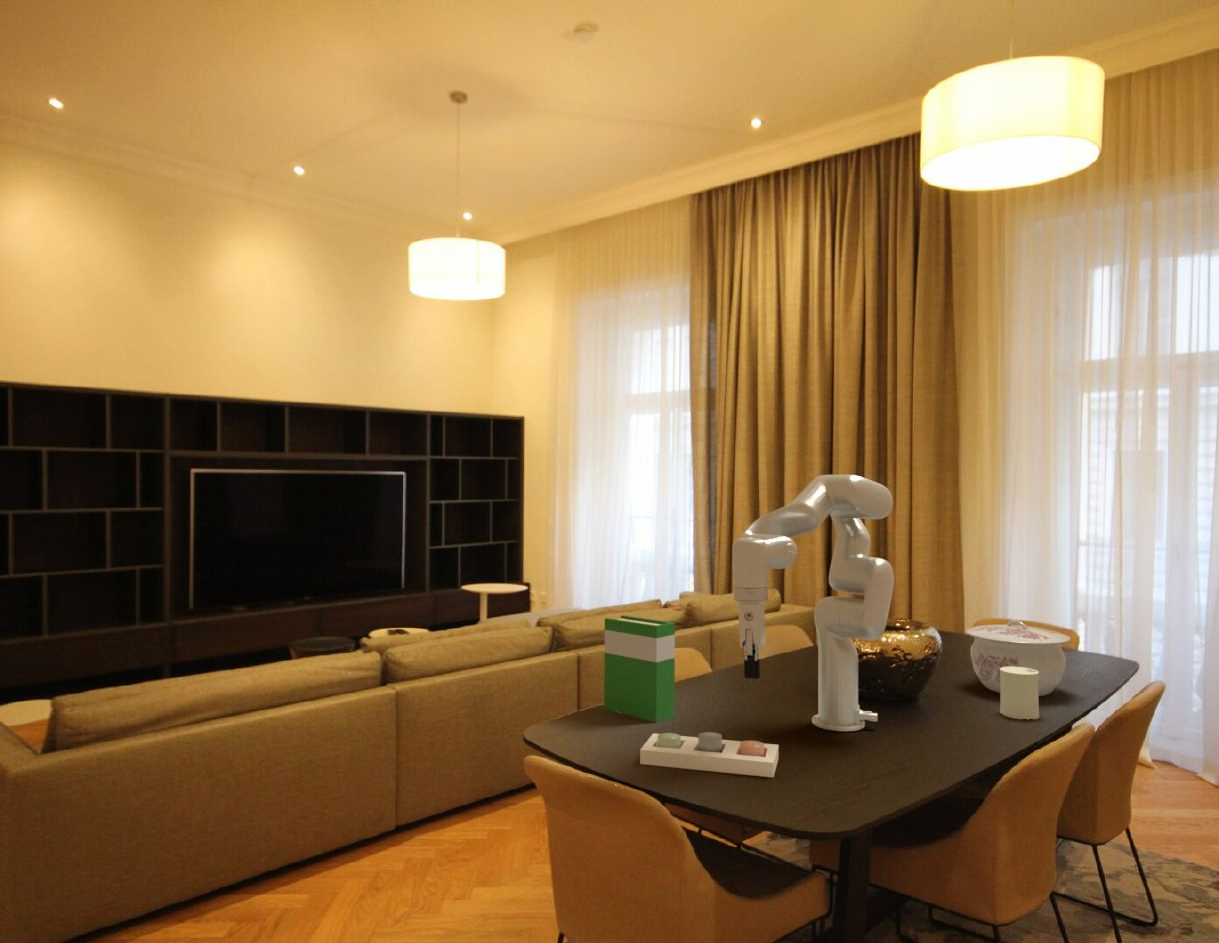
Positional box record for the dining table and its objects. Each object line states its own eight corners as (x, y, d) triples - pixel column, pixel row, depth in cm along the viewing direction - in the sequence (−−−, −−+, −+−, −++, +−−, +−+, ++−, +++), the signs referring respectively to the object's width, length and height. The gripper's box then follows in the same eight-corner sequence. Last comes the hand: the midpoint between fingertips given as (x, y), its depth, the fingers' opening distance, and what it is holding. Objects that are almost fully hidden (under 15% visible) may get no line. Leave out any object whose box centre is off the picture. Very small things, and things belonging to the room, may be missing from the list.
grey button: (723, 751, 179) (723, 733, 180) (719, 759, 175) (719, 740, 175) (700, 749, 181) (700, 731, 181) (696, 756, 176) (696, 737, 176)
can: (1044, 720, 209) (1044, 673, 209) (1005, 718, 211) (1004, 671, 211) (1033, 711, 218) (1033, 665, 218) (995, 709, 220) (995, 663, 220)
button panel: (778, 758, 180) (778, 744, 180) (773, 777, 168) (773, 762, 168) (653, 746, 187) (653, 733, 188) (640, 763, 176) (640, 749, 176)
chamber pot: (1071, 709, 219) (1070, 631, 219) (959, 696, 233) (959, 622, 233) (1072, 687, 243) (1071, 616, 244) (971, 676, 257) (970, 609, 257)
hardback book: (604, 709, 218) (604, 618, 219) (622, 703, 224) (623, 615, 224) (656, 722, 207) (656, 626, 207) (674, 716, 212) (674, 622, 212)
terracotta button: (765, 760, 177) (765, 741, 177) (762, 768, 172) (762, 748, 172) (741, 758, 178) (741, 739, 178) (738, 765, 174) (738, 746, 174)
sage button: (682, 752, 182) (682, 734, 182) (678, 759, 177) (678, 740, 177) (660, 750, 183) (660, 732, 183) (655, 757, 179) (655, 738, 179)
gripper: (765, 600, 173) (766, 687, 174) (770, 589, 188) (771, 669, 188) (729, 599, 175) (731, 685, 176) (737, 588, 190) (738, 668, 190)
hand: (752, 677), depth 182 cm, fingers closed
